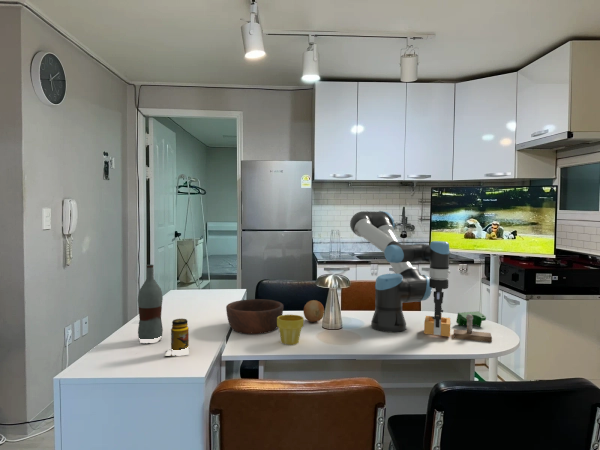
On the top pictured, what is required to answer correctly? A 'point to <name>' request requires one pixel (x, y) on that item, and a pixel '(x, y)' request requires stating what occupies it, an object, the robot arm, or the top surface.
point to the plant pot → (290, 328)
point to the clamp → (476, 320)
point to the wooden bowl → (254, 315)
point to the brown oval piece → (313, 311)
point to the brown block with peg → (472, 332)
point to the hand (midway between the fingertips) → (437, 331)
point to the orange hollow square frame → (430, 326)
